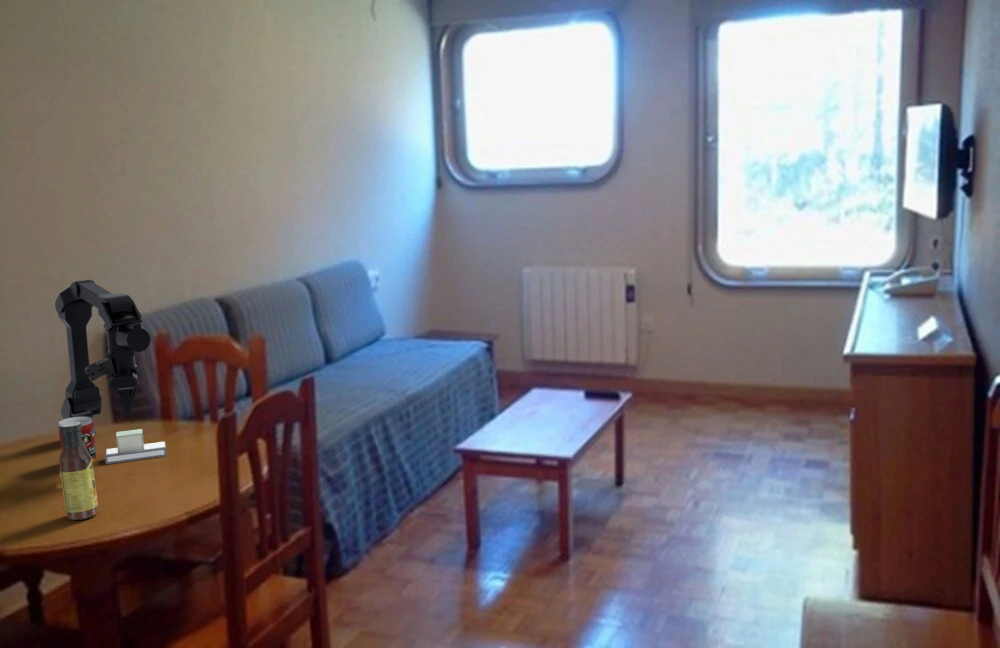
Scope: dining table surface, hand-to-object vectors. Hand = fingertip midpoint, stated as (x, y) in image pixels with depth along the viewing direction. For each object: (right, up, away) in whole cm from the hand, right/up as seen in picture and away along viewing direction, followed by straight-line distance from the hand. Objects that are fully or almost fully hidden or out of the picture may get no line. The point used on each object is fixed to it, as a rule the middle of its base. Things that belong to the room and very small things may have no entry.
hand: (127, 409), depth 229 cm
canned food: (-12, -14, 0) cm, 18 cm away
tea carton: (0, -12, +2) cm, 12 cm away
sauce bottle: (+4, -19, -34) cm, 40 cm away
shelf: (0, -12, +5) cm, 13 cm away
